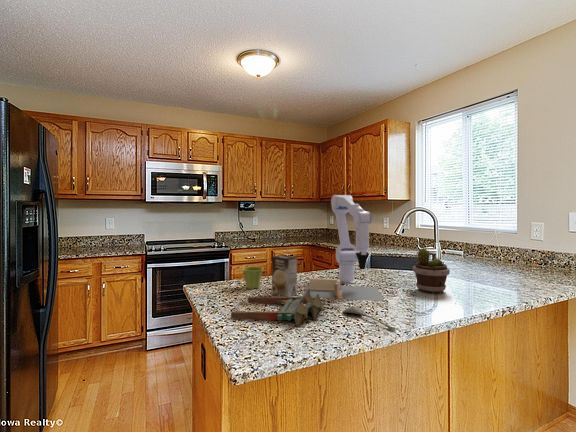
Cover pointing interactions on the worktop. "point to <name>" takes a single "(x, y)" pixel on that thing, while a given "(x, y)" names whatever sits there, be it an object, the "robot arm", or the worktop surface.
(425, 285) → the flowerpot
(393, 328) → the soupspoon
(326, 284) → the board
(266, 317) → the miniature gate
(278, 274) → the coffee box
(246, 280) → the plant pot
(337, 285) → the tan wooden plank
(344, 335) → the worktop surface
